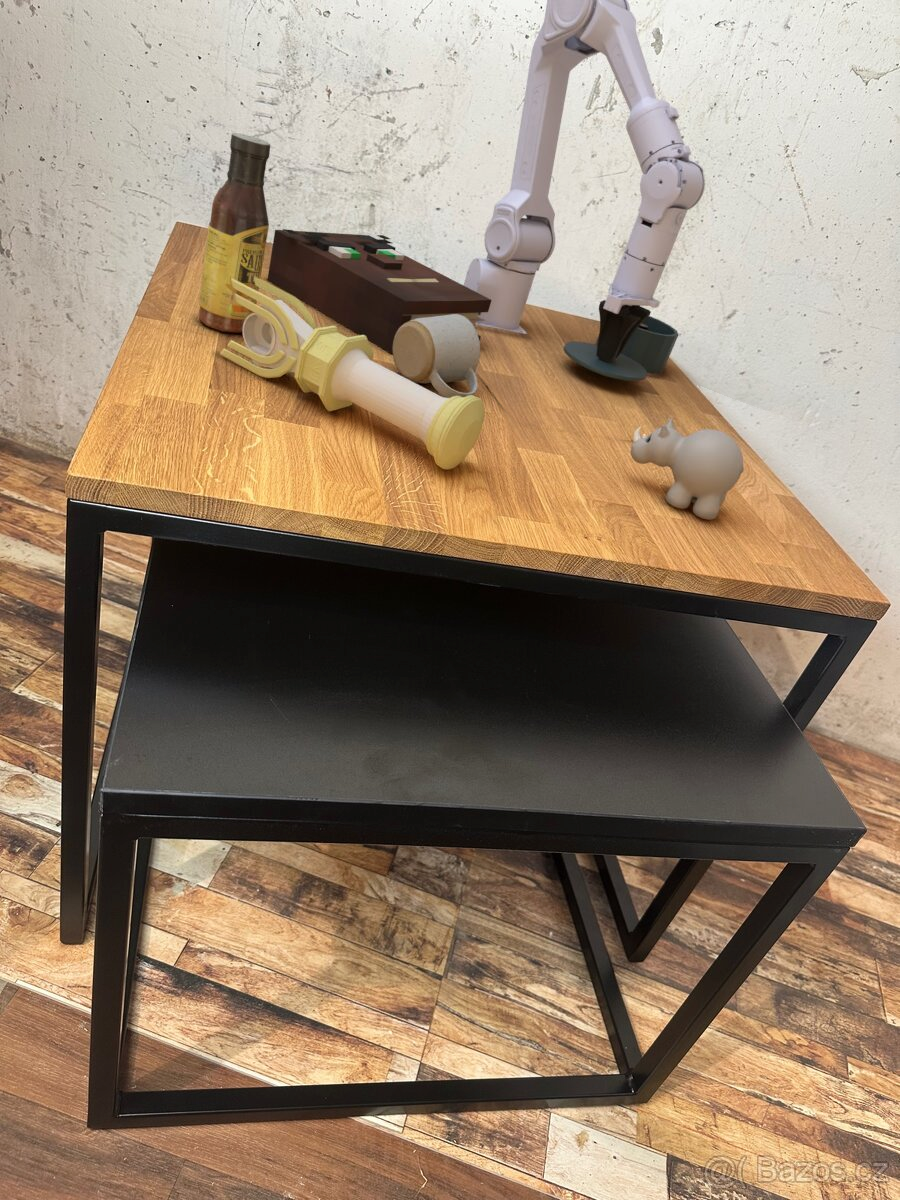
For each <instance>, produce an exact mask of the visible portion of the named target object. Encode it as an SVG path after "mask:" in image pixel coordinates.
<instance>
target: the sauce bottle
mask: <svg viewBox="0 0 900 1200" xmlns="http://www.w3.org/2000/svg"><path fill="white" fill-rule="evenodd" d="M229 143H230V144H229V148H230V158H229V164H228V171H227V172H226V177H227V180H226V181H225V182H224V184H223V185H222V186H221V187H219V189H218V191H217V192H216V194H215V195H214V197H213V200H212V206H211V214H210V220H209V223H208V227H207V234H206V235H207V236H206V244H205V251H204V257H203V258H204V259H203V266H202V272H201V273H202V274H201V281H200V283H201V284H200V288H199V289H200V290H199V298H198V305H199V309H198V319H199V320H200V322H201V323H202V324H203V325H205V326H207V327H209V328H211V329H215V330H217V331H220V332H227V333H237V334H238V333H243V324H244V321H245V319H246V318H247V316H249V315H250V314H252V313H255V312H253V311H251V310H249V309H247V308H245V307H243V306H242V305H240V304H238V303H237V302H236V297H235V294H237V295H239V296H241V297H243V298H245V299H247V300H249V301H250V302H252V303H254V304H256V305H257V302H258V301H257V300H255V299H253V298H251V297H249V296H247V295H246V294H244V293H242V292H240V291H238V290H236V289H234V288H233V287H232V282H231V278H233V279H235V280H236V281H238V282H240V283H242V284H244V285H246V286H248V287H250V288H252V289H254V290H256V291H259V290H260V288H259V287H257V286H256V285H255V281H254V276H255V277H257V278H259V279H261V278H262V277H261V276H262V272H263V271H262V270H263V264H264V258H265V254H266V253H265V252H266V245H267V239H268V234H269V227H270V224H269V223H270V222H269V217H268V216H269V215H268V209H267V204H266V197H265V191H264V190H265V189H264V186H265V181H264V180H265V174H266V168H267V162H268V160H269V158H270V153H271V143H270V142H268V141H267V140H264V139H262V138H258V137H255V136H251V135H248V134H244V133H237V132H232V133H231V137H230V142H229Z"/></svg>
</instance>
